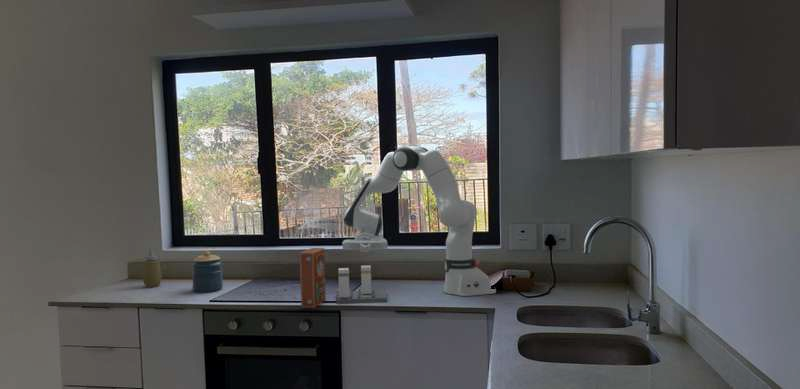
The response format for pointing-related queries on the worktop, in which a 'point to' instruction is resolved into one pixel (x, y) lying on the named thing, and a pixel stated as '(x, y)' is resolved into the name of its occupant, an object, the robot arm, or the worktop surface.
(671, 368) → the worktop surface
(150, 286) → the squeeze bottle
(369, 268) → the breaker toggle
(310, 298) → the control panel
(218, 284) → the canister
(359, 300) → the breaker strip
